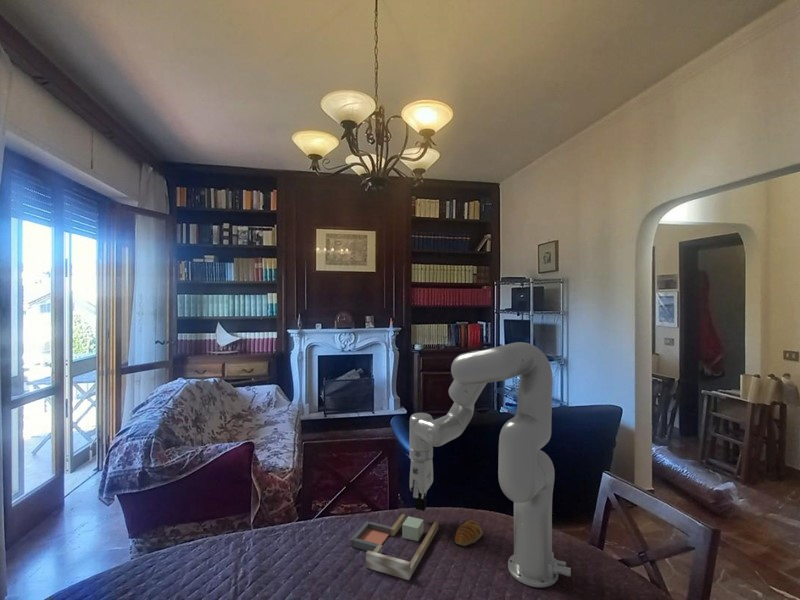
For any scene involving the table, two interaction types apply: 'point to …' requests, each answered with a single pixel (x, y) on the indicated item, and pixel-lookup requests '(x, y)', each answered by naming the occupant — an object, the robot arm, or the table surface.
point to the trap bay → (370, 536)
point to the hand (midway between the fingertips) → (420, 508)
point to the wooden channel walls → (394, 564)
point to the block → (412, 528)
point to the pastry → (468, 533)
